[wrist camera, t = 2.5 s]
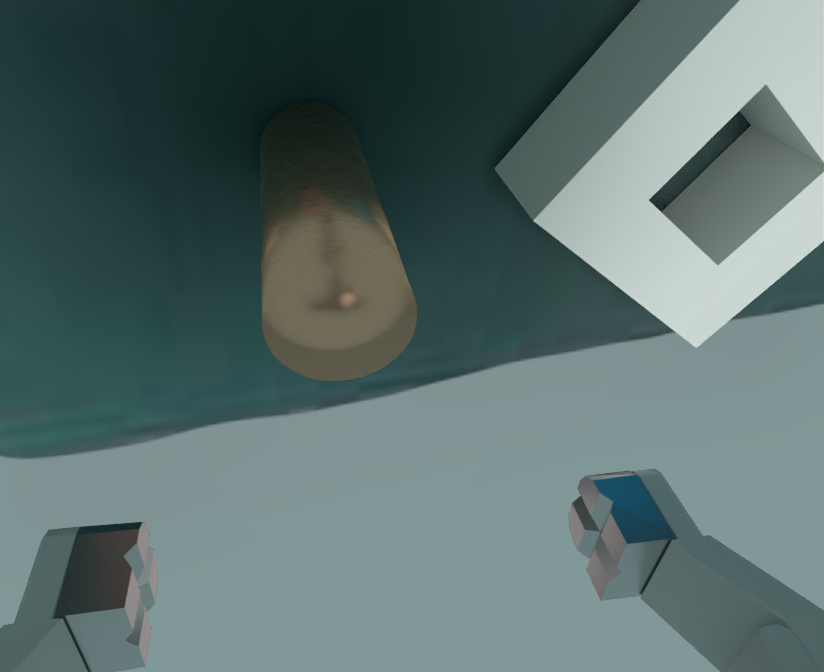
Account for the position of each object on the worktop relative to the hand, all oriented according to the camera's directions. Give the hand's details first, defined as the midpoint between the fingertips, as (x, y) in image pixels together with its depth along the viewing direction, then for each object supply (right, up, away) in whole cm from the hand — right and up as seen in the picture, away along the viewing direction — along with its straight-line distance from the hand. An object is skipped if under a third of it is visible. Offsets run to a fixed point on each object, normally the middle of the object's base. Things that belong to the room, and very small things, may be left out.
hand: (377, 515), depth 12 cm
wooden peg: (-4, +11, +14) cm, 18 cm away
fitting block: (+13, +12, +17) cm, 24 cm away
